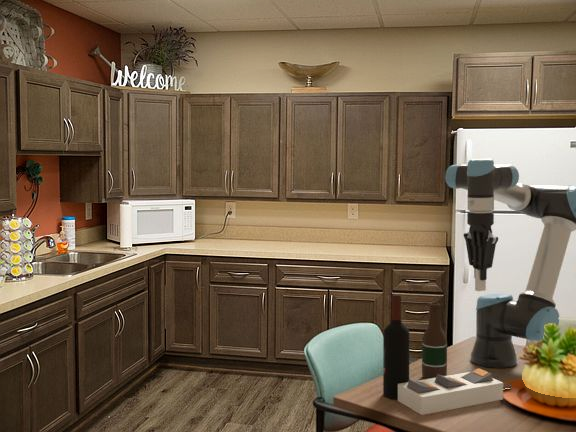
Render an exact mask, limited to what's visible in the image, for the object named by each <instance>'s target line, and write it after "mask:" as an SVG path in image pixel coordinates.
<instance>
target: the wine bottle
mask: <svg viewBox="0 0 576 432" xmlns="http://www.w3.org/2000/svg"><path fill="white" fill-rule="evenodd" d="M390 320H391V322H390V323H388V324H387V325H386V326H385V327H384V329H383V335H382V336H383V337H382V338H383V340H382V341H383V345H382V347H383V350H382V351H383V353H382V354H383V359H382V360H383V361H382V363H383V364H382V365H383V367H382V368H383V369H382V371H383V374H382V376H383V377H382V379H383V382H382V384H383V385H382V387H383V390H382V391H383V392H382V393H383V394H382V395H383V397H384V398H387V399H389V400H394V401H398V384H400V383H406V382H408V381H409V379H410V330H409V328H408V327H407V326H406V325H405V324H404V323H403V322H402V295H401V294H395V293H394V294H391V319H390Z"/></svg>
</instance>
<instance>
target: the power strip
mask: <svg viewBox="0 0 576 432" xmlns="http://www.w3.org/2000/svg"><path fill="white" fill-rule="evenodd" d="M470 372H471V371H469V372H468V371H467V372H461V373H455V374H449V375H447V376H445V377H448V378H449V377H450V378H453V379H456V380H458V381H460V382H462V383H464V384H465V386H459V387H454V388H447V387H445V386H443V385H441V384H439V383H437V382H435V379H436V378H430V379H425V378H424V379H420V380H417V381H420V382H426V383H429V384H431V385H433V386H435V387H437V389H439V390H437V391H431V392H425V393H418V392H416V391H414V390H412V389H410V388H408V387H407V385H408V382H406V383H400V384H398V400H397V402H399V403H400V404H401V405H402V404H403V405H404V406H405V407H408V408H409V409H411V411H412V410H413V411H414V412H416V413H417V414H419V415H421V416H424V415H431V414H434V413H441V412H446V411H450V410H455V409H461V408H465V407H472V406H477V405H482V404H488V403H491V402H492V403H493V402H498V401H502V400H504V391H503V389H505V388H511V387H512V388H513V386H512V384H506V385H505V384H504V382H502V381H500V380H498V379H496V378H493V377H492V378H493V381H488V382H482V383H476V384H474V383H471V382H469V381H467V380H465V379H463V378H462V376H464V375H466V374H468V373H470Z"/></svg>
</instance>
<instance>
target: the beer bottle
mask: <svg viewBox="0 0 576 432" xmlns="http://www.w3.org/2000/svg"><path fill="white" fill-rule="evenodd" d="M441 305H442V304H441V303H439V302H435V301H434V302H430V303H429V304H428V307H429V313H428V325H427V328H426V329H425V331H424V333H423V335H422V340H421V376H422V377H423V378H424V379H430V378H436V376H437V374H439V375H442V376H448V375H447V374H448V373H447V370H448V362H447V361H448V339H447V336H446V333H445V331H444V330H443V327H442V322H441V319H442V318H441V307H442V306H441Z"/></svg>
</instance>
